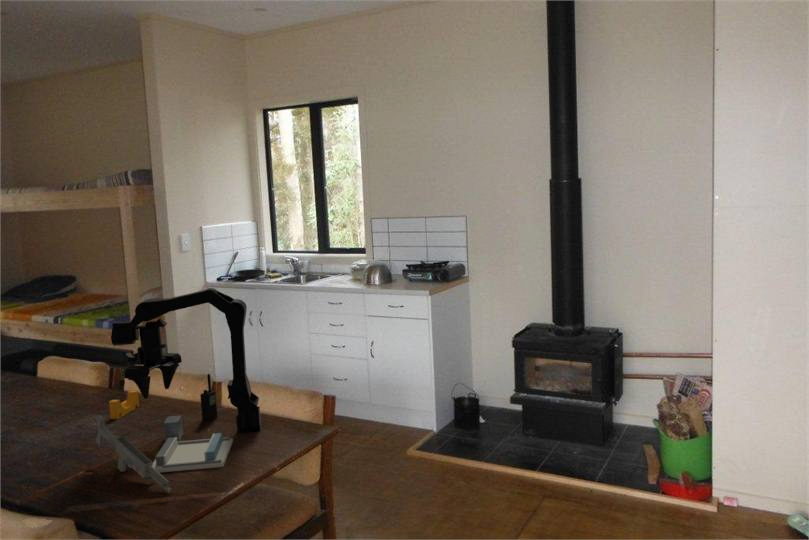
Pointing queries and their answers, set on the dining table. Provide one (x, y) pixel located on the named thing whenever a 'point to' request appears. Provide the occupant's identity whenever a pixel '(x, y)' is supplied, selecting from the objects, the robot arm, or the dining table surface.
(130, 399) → the pipe clamp
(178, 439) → the steel block
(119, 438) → the gun
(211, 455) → the vise free jaw
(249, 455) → the dining table surface
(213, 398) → the walkie-talkie
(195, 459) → the vise bed
